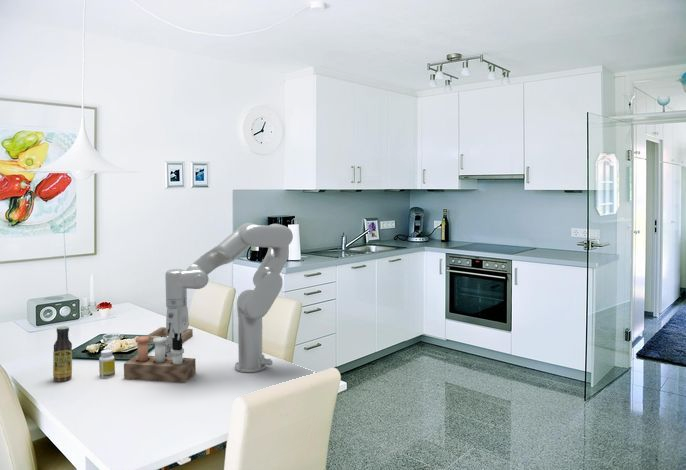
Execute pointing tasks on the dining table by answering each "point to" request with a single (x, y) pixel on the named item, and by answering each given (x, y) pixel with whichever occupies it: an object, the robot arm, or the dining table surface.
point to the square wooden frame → (163, 332)
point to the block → (160, 370)
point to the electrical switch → (168, 347)
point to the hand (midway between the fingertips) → (177, 349)
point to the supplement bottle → (106, 364)
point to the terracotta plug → (142, 348)
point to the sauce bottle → (62, 356)
